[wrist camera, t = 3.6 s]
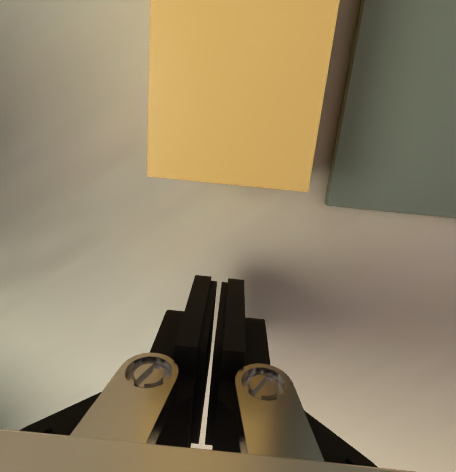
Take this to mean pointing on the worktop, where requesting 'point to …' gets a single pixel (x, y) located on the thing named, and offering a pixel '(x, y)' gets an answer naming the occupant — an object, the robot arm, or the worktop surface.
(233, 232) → the worktop surface
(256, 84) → the yellow rectangular block
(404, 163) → the mat
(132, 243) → the worktop surface
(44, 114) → the worktop surface
